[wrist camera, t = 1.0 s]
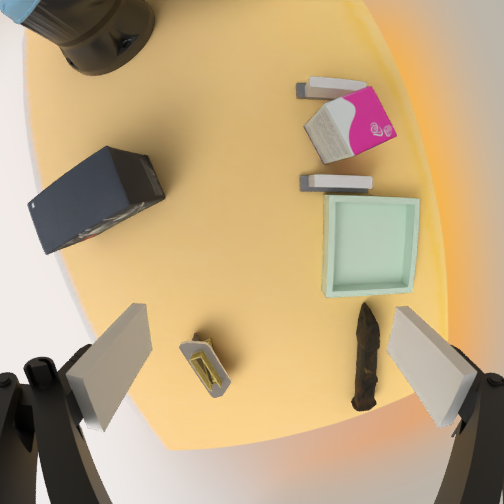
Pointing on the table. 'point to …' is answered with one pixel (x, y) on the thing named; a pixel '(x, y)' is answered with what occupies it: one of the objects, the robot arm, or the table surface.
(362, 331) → the hand tool
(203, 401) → the table surface
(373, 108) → the supplement box
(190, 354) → the platform
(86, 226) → the small box
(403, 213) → the parts tray
